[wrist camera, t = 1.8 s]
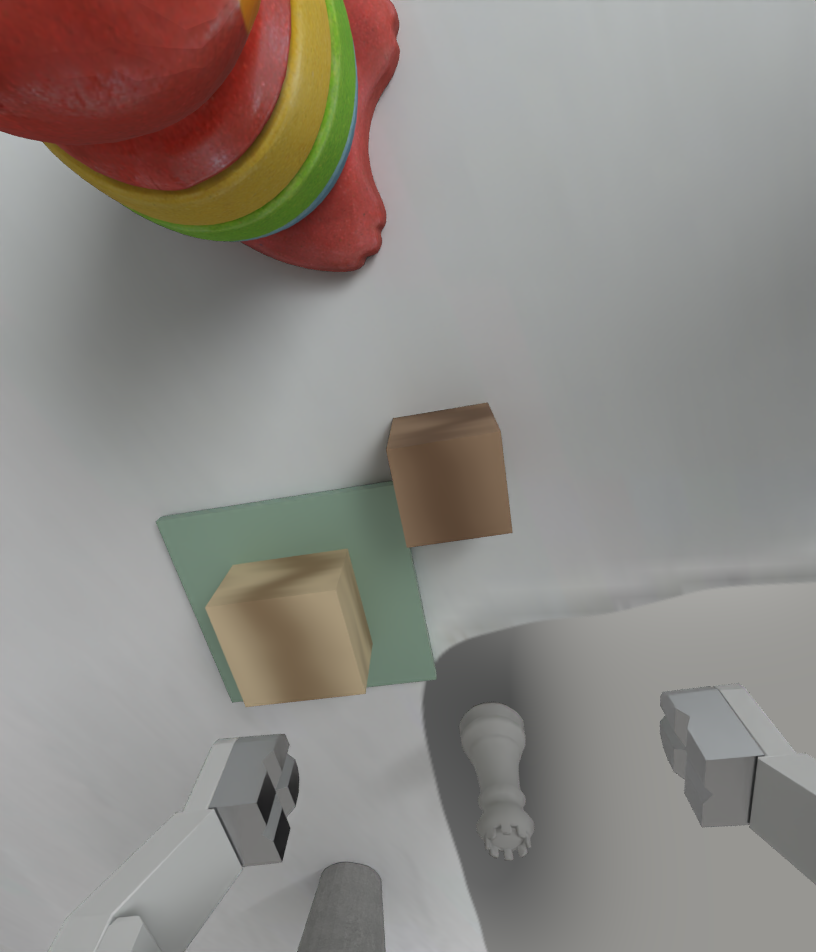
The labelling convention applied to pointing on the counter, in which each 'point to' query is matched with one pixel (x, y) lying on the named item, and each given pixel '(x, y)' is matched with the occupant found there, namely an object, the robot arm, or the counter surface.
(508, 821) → the rook chess piece
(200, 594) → the build pad
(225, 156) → the stacking bear
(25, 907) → the counter surface
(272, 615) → the oak base block
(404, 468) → the walnut cube
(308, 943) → the house plant
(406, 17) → the counter surface
